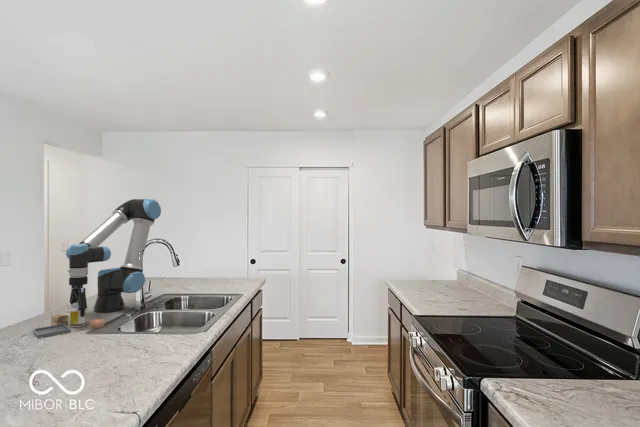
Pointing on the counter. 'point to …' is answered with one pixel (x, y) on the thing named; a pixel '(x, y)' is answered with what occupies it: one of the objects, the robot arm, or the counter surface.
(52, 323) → the cork block
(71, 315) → the pill bottle
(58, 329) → the slate tray
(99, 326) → the brown egg
